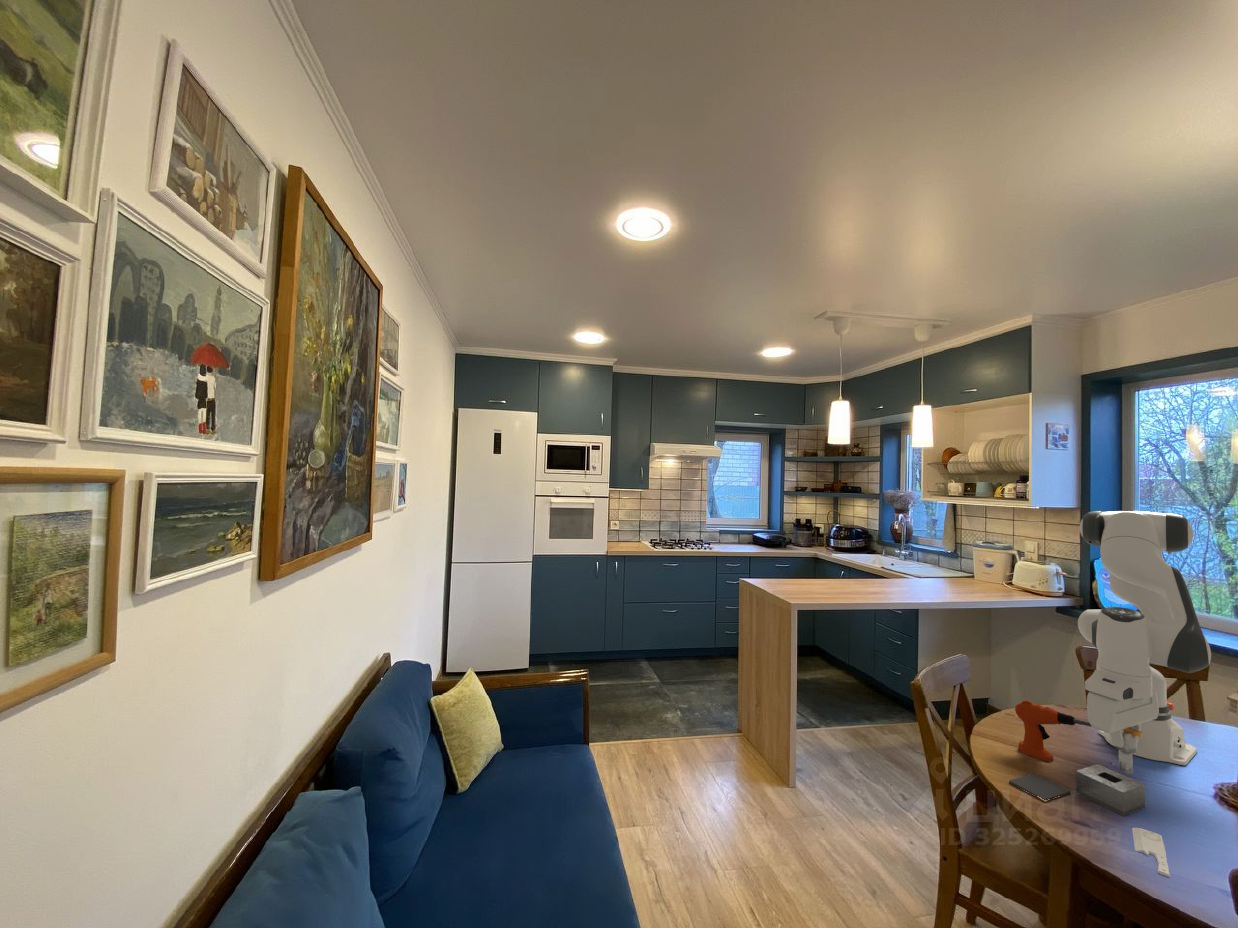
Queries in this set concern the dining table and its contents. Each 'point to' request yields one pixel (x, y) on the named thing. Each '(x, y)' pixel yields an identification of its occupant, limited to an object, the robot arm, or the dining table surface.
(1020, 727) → the dining table surface
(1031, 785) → the rubber mat
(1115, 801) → the block
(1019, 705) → the toy drill
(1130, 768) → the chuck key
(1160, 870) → the cream flat piece
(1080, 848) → the dining table surface
